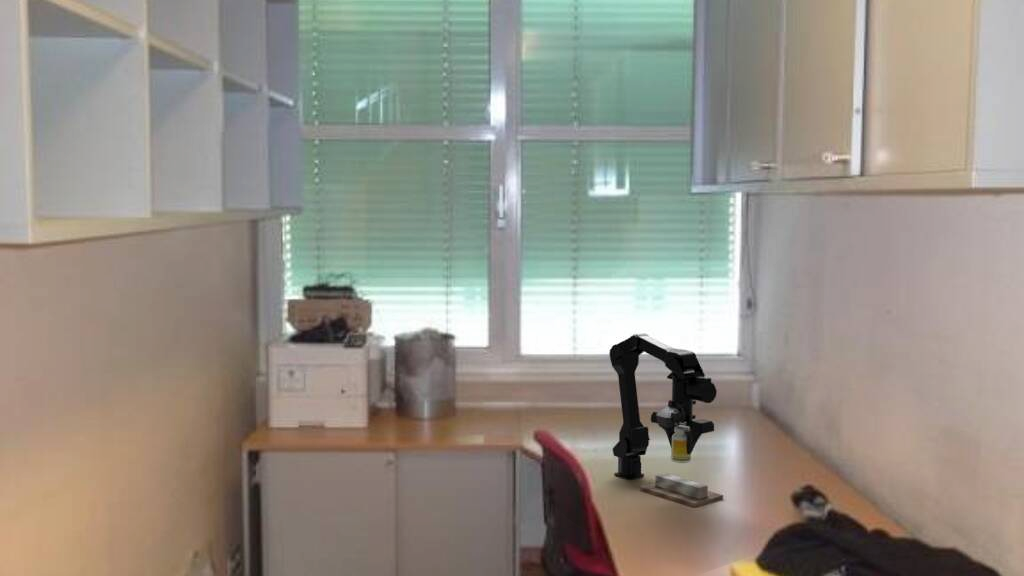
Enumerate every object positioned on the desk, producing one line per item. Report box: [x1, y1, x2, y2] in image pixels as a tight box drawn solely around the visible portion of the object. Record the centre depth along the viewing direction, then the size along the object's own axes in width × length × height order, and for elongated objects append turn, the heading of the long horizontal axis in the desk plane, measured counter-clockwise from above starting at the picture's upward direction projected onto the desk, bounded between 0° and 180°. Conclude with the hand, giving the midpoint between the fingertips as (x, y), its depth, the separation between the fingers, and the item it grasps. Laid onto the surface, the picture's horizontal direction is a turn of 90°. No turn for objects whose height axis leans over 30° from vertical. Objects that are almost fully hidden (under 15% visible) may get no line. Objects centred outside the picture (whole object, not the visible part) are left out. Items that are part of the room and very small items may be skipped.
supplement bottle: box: [670, 425, 692, 464], centre depth 278 cm, size 5×5×10 cm
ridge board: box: [639, 472, 724, 508], centre depth 279 cm, size 20×12×4 cm, turn 39°
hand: (681, 452), depth 278 cm, fingers closed on supplement bottle, 5 cm apart
